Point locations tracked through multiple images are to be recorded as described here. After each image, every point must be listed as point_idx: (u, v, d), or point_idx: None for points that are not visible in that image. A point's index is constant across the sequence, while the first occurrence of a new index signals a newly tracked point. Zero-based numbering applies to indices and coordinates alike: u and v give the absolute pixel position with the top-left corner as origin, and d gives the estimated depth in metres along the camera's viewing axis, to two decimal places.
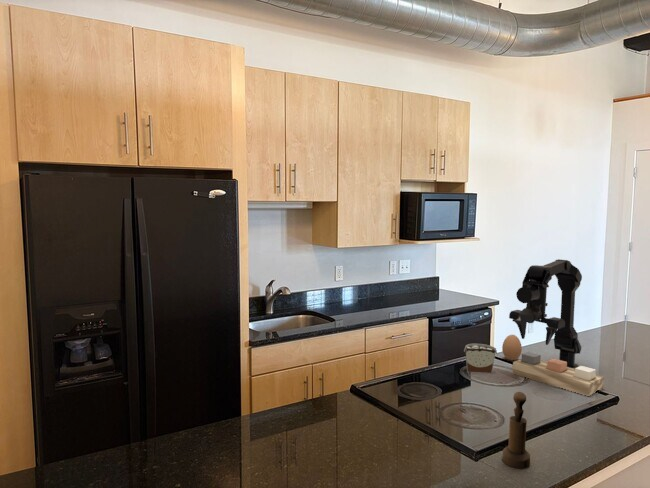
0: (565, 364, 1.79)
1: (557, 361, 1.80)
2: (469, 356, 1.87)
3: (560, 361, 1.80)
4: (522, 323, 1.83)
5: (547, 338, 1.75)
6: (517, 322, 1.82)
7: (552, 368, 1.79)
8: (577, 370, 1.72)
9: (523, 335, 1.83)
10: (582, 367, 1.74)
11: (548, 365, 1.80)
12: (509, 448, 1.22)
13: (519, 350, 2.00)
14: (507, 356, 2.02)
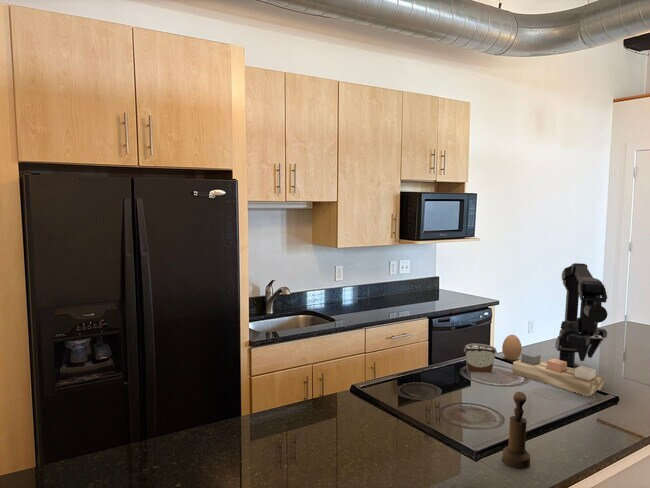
0: (565, 364, 1.79)
1: (557, 361, 1.80)
2: (469, 356, 1.87)
3: (560, 361, 1.80)
4: (590, 341, 1.74)
5: None
6: None
7: (552, 368, 1.79)
8: (577, 370, 1.72)
9: (589, 353, 1.74)
10: (582, 367, 1.74)
11: (548, 365, 1.80)
12: (509, 448, 1.22)
13: (519, 350, 2.00)
14: (507, 356, 2.02)
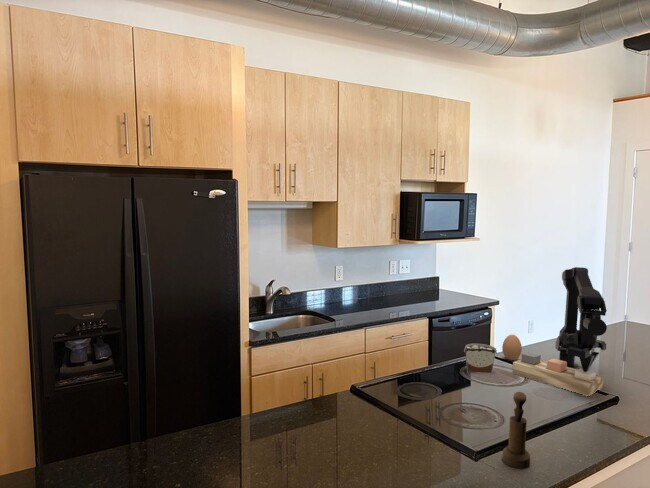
0: (565, 364, 1.79)
1: (557, 361, 1.80)
2: (469, 356, 1.87)
3: (560, 361, 1.80)
4: None
5: None
6: None
7: (552, 368, 1.79)
8: (577, 373, 1.72)
9: None
10: (582, 370, 1.74)
11: (548, 365, 1.80)
12: (509, 448, 1.22)
13: (519, 350, 2.00)
14: (507, 356, 2.02)
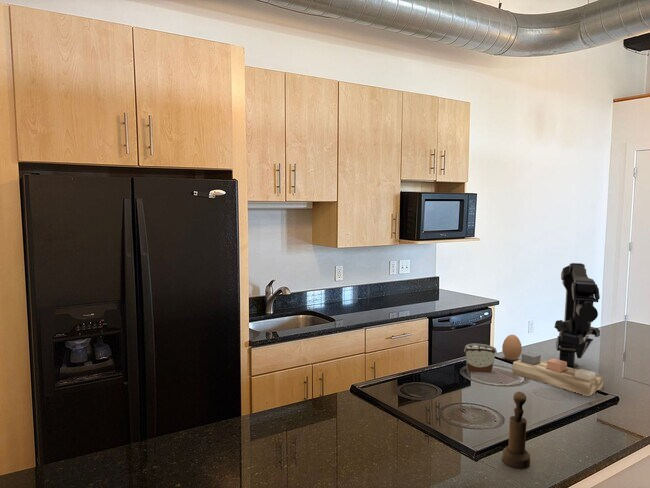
0: (565, 364, 1.79)
1: (557, 361, 1.80)
2: (469, 356, 1.87)
3: (560, 361, 1.80)
4: None
5: None
6: None
7: (552, 368, 1.79)
8: (577, 373, 1.72)
9: None
10: (582, 370, 1.74)
11: (548, 365, 1.80)
12: (509, 448, 1.22)
13: (519, 350, 2.00)
14: (507, 356, 2.02)
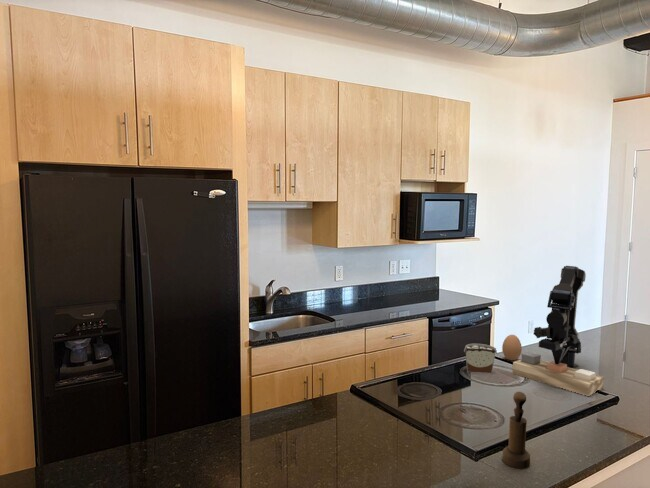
0: (565, 367, 1.79)
1: None
2: (469, 356, 1.87)
3: (560, 364, 1.80)
4: None
5: None
6: None
7: None
8: (577, 373, 1.72)
9: None
10: (582, 370, 1.74)
11: (548, 367, 1.80)
12: (509, 448, 1.22)
13: (519, 350, 2.00)
14: (507, 356, 2.02)
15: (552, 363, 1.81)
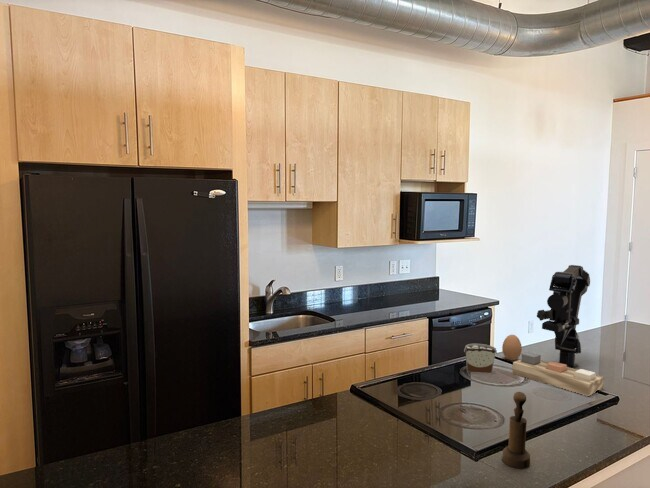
0: (565, 367, 1.79)
1: (557, 364, 1.80)
2: (469, 356, 1.87)
3: (560, 364, 1.80)
4: None
5: None
6: None
7: None
8: (577, 373, 1.72)
9: None
10: (582, 370, 1.74)
11: (548, 368, 1.80)
12: (509, 448, 1.22)
13: (519, 350, 2.00)
14: (507, 356, 2.02)
15: (552, 363, 1.81)
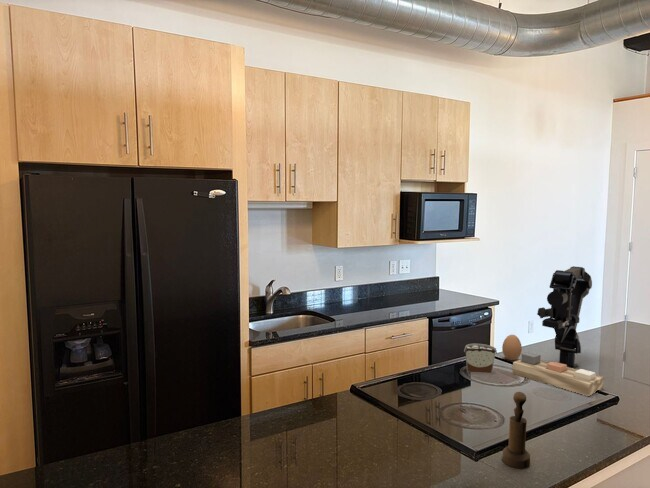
0: (565, 367, 1.79)
1: (557, 364, 1.80)
2: (469, 356, 1.87)
3: (560, 364, 1.80)
4: None
5: None
6: None
7: None
8: (577, 373, 1.72)
9: None
10: (582, 370, 1.74)
11: (548, 368, 1.80)
12: (509, 448, 1.22)
13: (519, 350, 2.00)
14: (507, 356, 2.02)
15: (552, 363, 1.81)
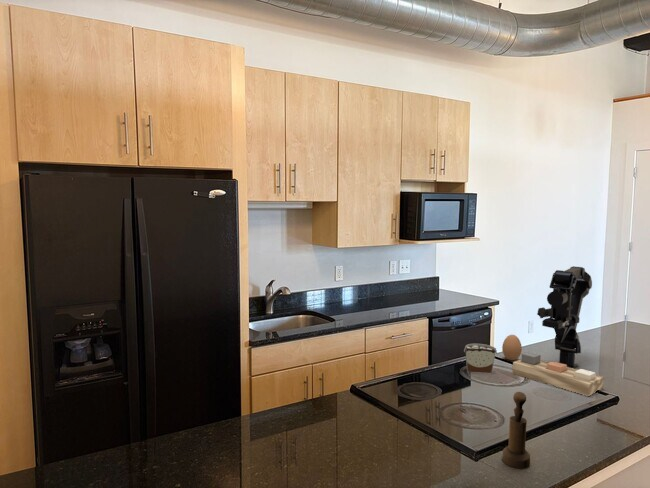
0: (565, 367, 1.79)
1: (557, 364, 1.80)
2: (469, 356, 1.87)
3: (560, 364, 1.80)
4: None
5: None
6: None
7: None
8: (577, 373, 1.72)
9: None
10: (582, 370, 1.74)
11: (548, 368, 1.80)
12: (509, 448, 1.22)
13: (519, 350, 2.00)
14: (507, 356, 2.02)
15: (552, 363, 1.81)
